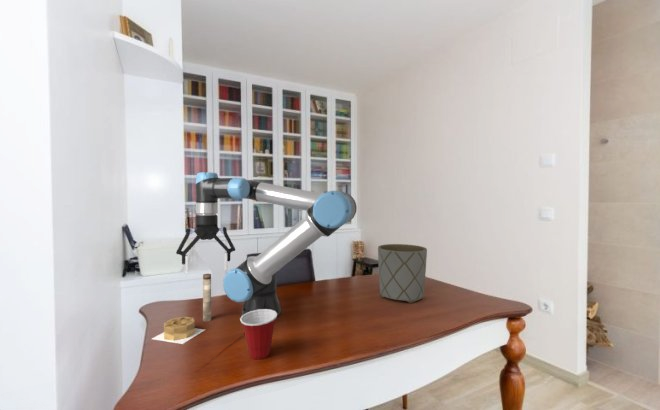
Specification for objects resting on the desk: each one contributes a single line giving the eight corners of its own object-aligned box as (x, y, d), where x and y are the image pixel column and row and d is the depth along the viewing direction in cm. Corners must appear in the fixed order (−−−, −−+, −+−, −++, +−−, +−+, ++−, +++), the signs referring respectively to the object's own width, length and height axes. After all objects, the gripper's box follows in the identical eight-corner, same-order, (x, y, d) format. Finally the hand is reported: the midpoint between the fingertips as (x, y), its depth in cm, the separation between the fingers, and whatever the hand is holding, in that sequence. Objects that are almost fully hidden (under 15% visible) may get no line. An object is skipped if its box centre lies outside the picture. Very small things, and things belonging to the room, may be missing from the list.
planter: (431, 294, 154) (432, 246, 154) (417, 307, 135) (418, 253, 134) (388, 286, 166) (388, 242, 166) (369, 298, 147) (370, 248, 147)
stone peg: (212, 321, 118) (212, 274, 118) (207, 324, 115) (207, 275, 115) (206, 320, 119) (206, 273, 118) (201, 323, 116) (201, 275, 116)
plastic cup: (234, 352, 95) (234, 313, 94) (267, 343, 101) (267, 306, 101) (248, 368, 86) (248, 325, 86) (283, 356, 93) (283, 316, 92)
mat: (205, 332, 109) (205, 329, 108) (182, 347, 98) (182, 343, 98) (176, 328, 112) (176, 325, 112) (151, 341, 101) (151, 338, 101)
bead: (199, 330, 108) (199, 318, 108) (180, 341, 99) (180, 329, 99) (178, 327, 110) (177, 315, 110) (157, 338, 102) (157, 325, 102)
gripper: (240, 213, 125) (239, 266, 125) (169, 214, 114) (169, 272, 115) (243, 214, 118) (242, 270, 118) (168, 215, 108) (168, 277, 108)
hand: (206, 271), depth 117 cm, fingers open, 13 cm apart
